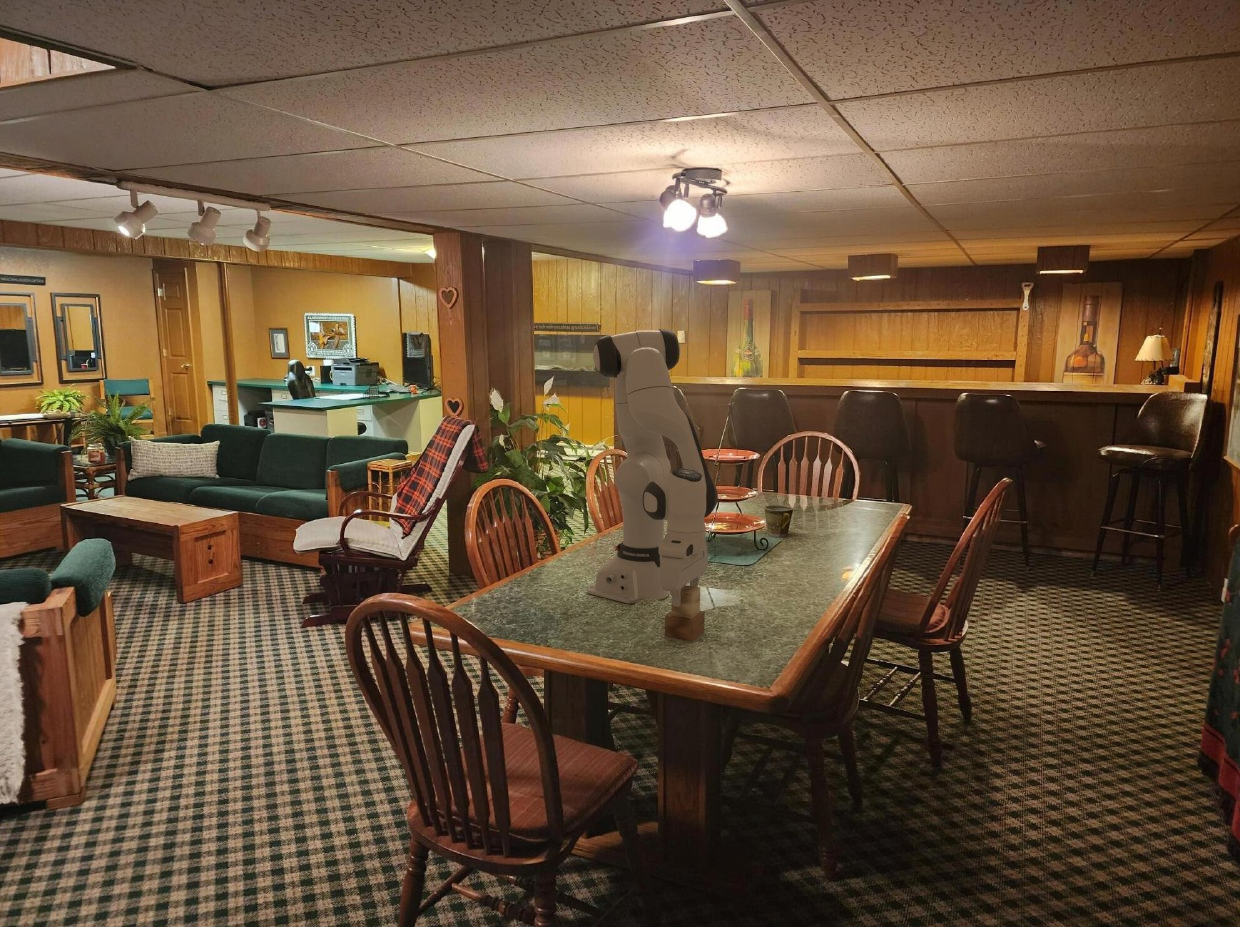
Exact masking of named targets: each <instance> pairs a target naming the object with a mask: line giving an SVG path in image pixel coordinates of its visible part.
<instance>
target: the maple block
mask: <svg viewBox="0 0 1240 927" xmlns="http://www.w3.org/2000/svg"><path fill="white" fill-rule="evenodd" d="M680 596H681V598H682V604H681V605H680V606H679V607H677V606H673V605H672V604H671V611H672V612H671V611H670V612H671V615H672V616H678V617H684V618H690V619H692V618H693V617H695V616H696V615H697V614H698V613H700V611H701V587H699V586H698V587H694V586H690V585H688V584H686V585H685V586H684V587H682V588H681V592H680Z"/></svg>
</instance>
